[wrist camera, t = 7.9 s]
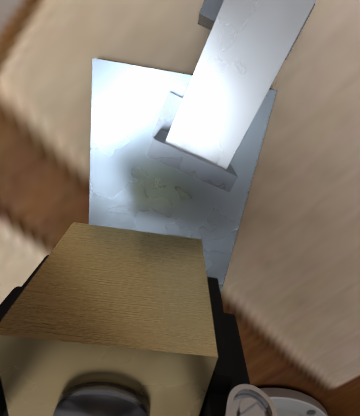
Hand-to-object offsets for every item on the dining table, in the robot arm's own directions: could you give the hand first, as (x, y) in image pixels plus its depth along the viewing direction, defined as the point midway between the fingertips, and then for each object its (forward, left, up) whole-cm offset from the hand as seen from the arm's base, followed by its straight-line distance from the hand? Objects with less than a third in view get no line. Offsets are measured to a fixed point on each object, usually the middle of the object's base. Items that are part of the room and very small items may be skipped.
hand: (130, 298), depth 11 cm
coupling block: (0, 0, -1) cm, 1 cm away
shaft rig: (0, 0, -9) cm, 9 cm away
